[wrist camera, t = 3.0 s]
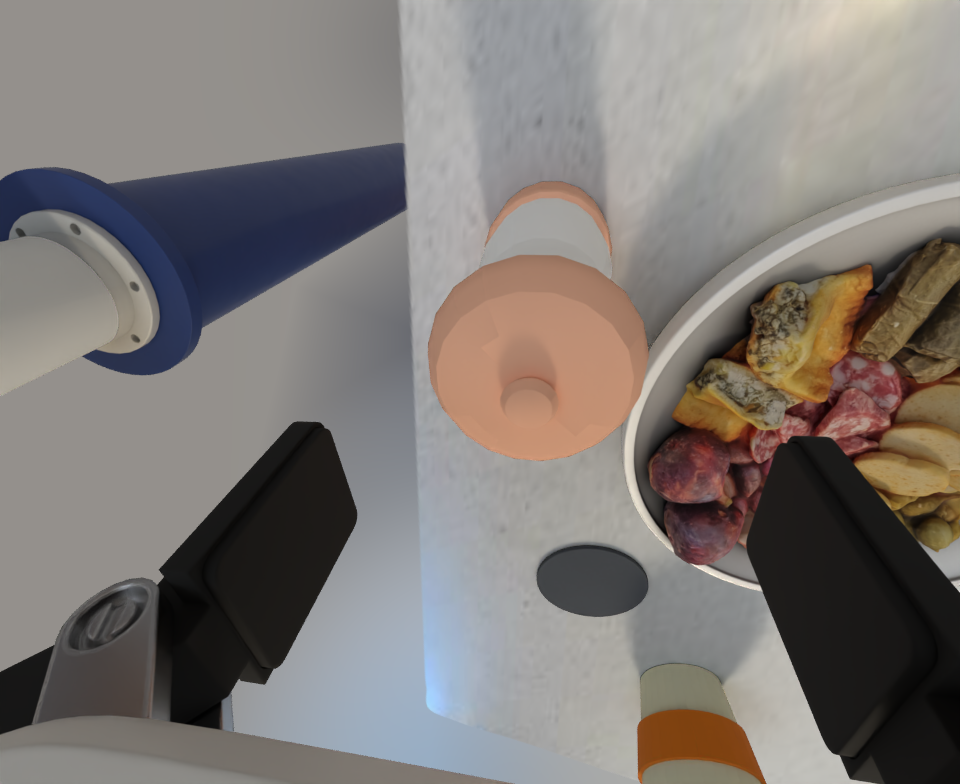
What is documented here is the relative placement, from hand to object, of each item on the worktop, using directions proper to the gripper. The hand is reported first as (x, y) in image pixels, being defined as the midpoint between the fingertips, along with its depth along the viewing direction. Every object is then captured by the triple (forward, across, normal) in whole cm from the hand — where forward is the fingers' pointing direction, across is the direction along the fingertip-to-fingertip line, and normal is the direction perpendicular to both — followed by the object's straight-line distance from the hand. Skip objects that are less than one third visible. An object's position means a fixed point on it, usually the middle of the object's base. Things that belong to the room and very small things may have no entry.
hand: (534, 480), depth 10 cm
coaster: (+22, -3, +34) cm, 41 cm away
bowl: (+22, -19, +12) cm, 32 cm away
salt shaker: (+22, +1, 0) cm, 22 cm away
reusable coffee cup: (+22, -14, +52) cm, 58 cm away
